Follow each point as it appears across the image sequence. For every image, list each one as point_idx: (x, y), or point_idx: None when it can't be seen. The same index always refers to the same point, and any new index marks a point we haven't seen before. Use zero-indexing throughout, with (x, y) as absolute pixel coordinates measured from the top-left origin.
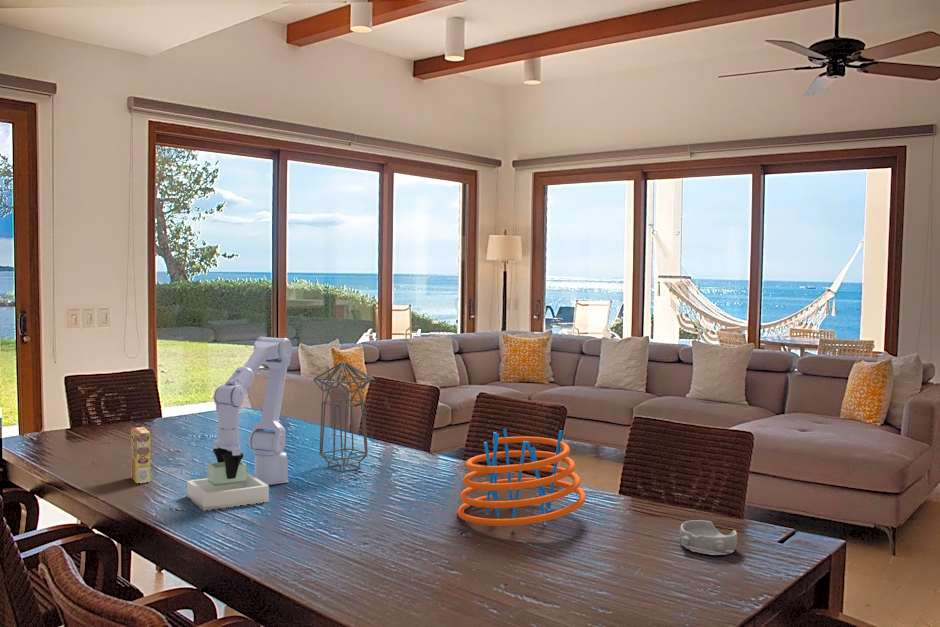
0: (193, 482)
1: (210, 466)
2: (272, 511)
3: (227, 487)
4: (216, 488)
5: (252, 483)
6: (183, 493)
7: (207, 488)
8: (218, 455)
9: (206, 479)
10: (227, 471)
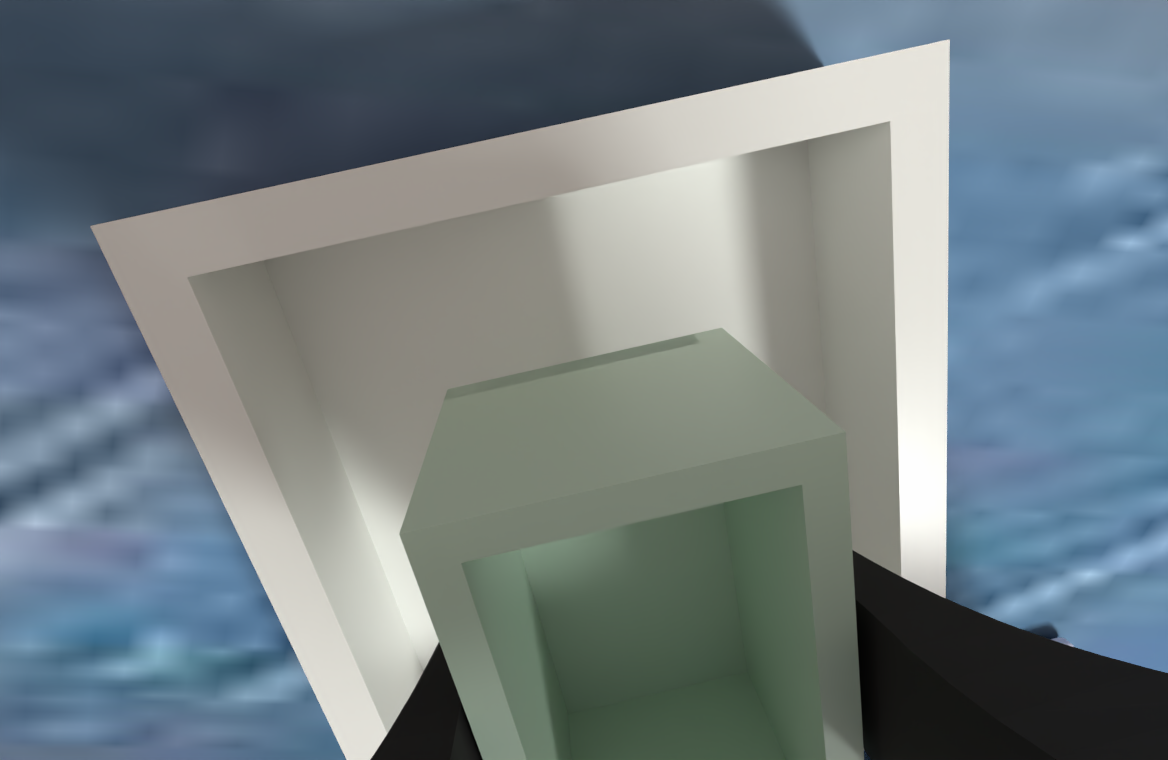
0: (814, 131)
1: (676, 456)
2: (136, 748)
3: None
4: (833, 390)
5: None
6: (960, 51)
7: (833, 304)
8: (969, 733)
9: (895, 316)
10: (419, 685)
